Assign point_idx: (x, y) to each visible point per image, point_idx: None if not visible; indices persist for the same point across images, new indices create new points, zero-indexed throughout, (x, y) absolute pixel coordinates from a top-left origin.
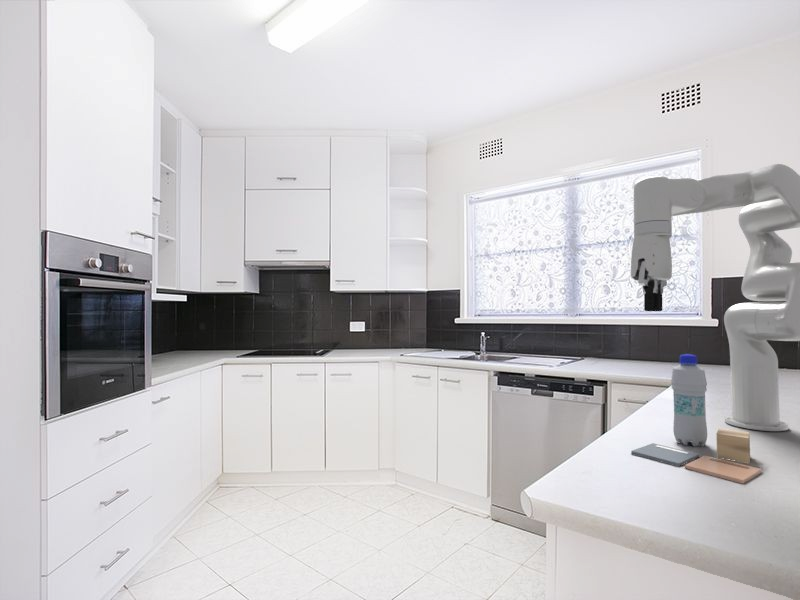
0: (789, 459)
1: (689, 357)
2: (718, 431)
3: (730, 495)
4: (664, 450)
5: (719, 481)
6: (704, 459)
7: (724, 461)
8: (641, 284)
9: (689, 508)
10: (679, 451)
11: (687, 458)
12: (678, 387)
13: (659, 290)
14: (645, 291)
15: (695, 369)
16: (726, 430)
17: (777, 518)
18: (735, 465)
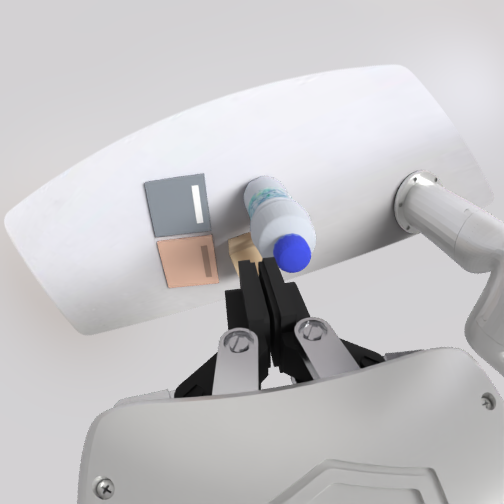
0: (291, 275)
1: (279, 267)
2: (242, 251)
3: (133, 291)
4: (185, 202)
5: (155, 274)
6: (196, 243)
7: (207, 257)
8: (139, 400)
9: (85, 287)
10: (197, 214)
11: (181, 232)
12: (251, 223)
13: (292, 379)
14: (216, 354)
15: None
16: (257, 253)
17: (127, 319)
18: (204, 268)
